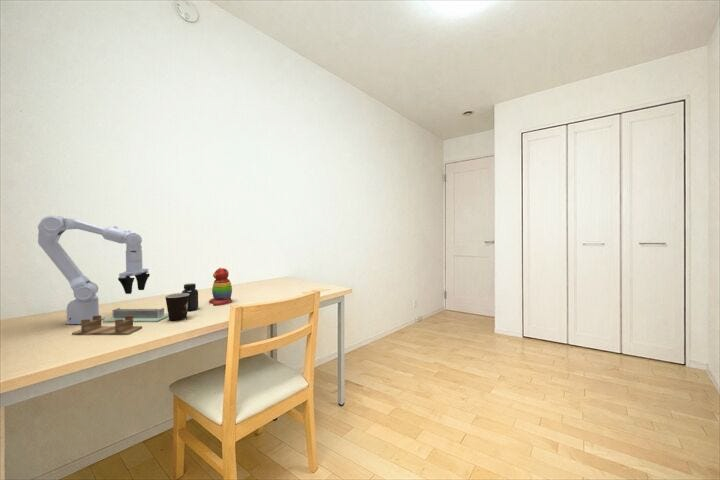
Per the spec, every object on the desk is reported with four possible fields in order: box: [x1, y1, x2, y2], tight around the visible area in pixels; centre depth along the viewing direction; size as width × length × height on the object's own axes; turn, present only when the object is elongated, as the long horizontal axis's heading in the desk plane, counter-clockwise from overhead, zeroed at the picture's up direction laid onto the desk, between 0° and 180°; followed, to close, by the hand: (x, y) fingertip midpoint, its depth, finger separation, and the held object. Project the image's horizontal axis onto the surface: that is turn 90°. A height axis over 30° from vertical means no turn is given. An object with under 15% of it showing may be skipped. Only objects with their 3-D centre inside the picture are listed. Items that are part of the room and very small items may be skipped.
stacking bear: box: [208, 267, 233, 307], centre depth 155 cm, size 11×10×18 cm
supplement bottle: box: [181, 283, 199, 312], centre depth 142 cm, size 7×7×12 cm
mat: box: [102, 313, 169, 323], centre depth 128 cm, size 22×10×1 cm, turn 91°
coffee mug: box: [165, 292, 189, 322], centre depth 129 cm, size 12×9×10 cm
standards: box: [71, 314, 143, 336], centre depth 112 cm, size 20×7×5 cm, turn 91°
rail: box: [111, 307, 165, 318], centre depth 128 cm, size 19×3×3 cm, turn 91°
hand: (135, 291), depth 132 cm, fingers open, 7 cm apart
